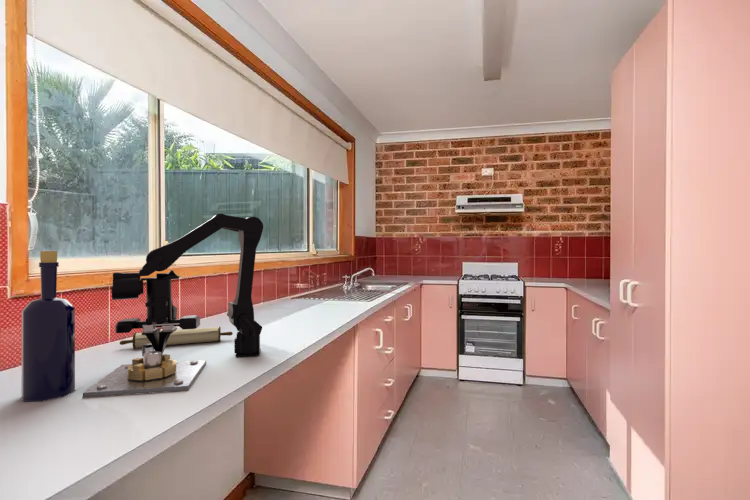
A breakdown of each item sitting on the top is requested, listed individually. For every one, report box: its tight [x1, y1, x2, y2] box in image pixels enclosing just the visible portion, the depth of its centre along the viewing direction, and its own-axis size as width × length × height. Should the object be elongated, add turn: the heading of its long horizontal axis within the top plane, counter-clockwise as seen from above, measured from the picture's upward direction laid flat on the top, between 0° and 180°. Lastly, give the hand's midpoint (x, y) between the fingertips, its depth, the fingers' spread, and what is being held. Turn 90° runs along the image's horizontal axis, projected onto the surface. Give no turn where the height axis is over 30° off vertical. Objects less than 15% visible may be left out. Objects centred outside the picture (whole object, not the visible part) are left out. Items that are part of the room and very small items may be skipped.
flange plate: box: [82, 350, 207, 399], centre depth 93 cm, size 20×20×6 cm
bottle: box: [20, 250, 77, 403], centre depth 83 cm, size 9×9×30 cm
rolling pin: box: [119, 326, 234, 350], centre depth 126 cm, size 32×6×5 cm, turn 113°
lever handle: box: [128, 343, 177, 380], centre depth 98 cm, size 10×22×4 cm, turn 33°
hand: (160, 356), depth 103 cm, fingers closed
